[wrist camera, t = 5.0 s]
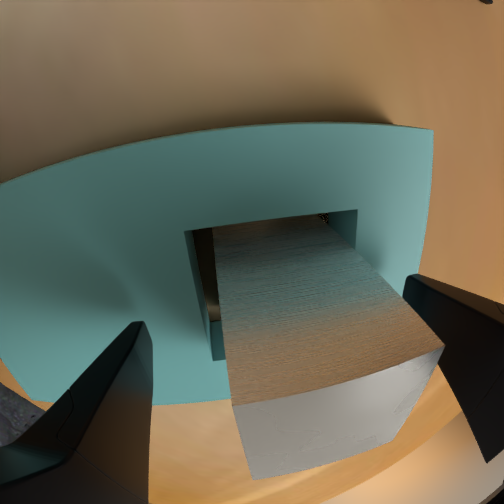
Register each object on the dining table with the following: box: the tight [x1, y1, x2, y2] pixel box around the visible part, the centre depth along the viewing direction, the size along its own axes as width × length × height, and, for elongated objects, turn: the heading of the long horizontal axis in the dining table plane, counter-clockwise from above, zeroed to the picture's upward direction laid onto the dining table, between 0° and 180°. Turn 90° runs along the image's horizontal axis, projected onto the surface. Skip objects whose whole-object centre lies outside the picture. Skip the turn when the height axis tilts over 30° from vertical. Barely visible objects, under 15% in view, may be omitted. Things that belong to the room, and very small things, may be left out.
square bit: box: [213, 214, 445, 480], centre depth 9 cm, size 4×4×8 cm
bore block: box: [0, 122, 433, 405], centre depth 11 cm, size 20×11×2 cm, turn 95°
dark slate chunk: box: [0, 382, 46, 447], centre depth 14 cm, size 15×22×5 cm
